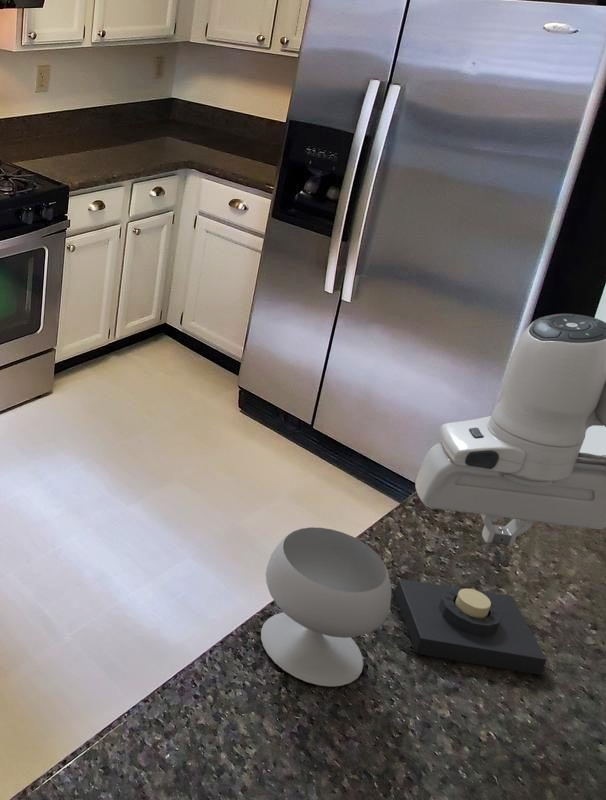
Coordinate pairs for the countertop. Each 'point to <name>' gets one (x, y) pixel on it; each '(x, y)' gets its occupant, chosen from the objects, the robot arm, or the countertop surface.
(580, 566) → the countertop surface
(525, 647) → the push button plate
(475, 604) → the push button switch
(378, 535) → the countertop surface
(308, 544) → the chalice
